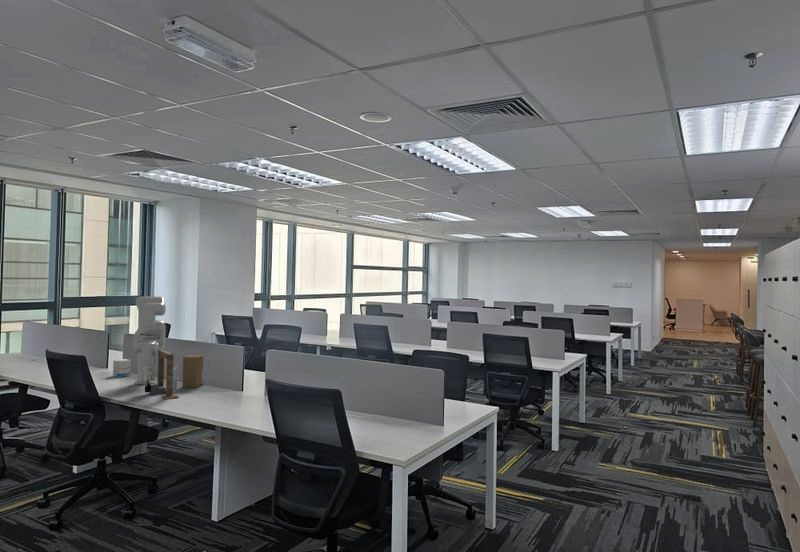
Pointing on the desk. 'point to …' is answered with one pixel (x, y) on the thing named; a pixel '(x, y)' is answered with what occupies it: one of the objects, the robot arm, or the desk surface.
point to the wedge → (157, 389)
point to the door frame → (169, 379)
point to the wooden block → (192, 370)
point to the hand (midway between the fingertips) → (147, 392)
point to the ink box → (121, 367)
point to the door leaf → (175, 379)
